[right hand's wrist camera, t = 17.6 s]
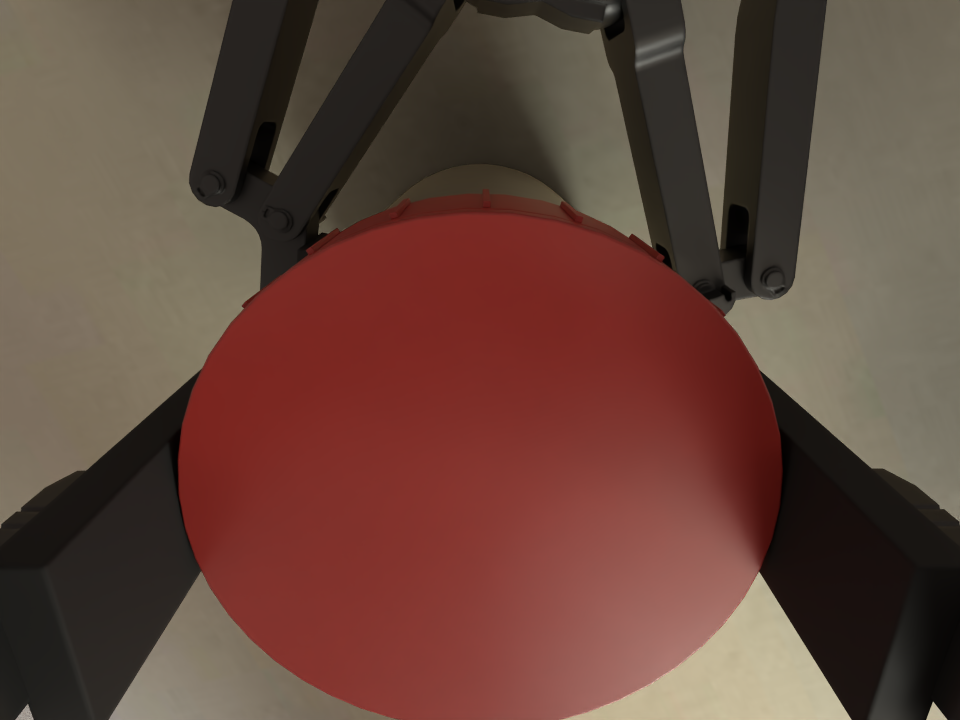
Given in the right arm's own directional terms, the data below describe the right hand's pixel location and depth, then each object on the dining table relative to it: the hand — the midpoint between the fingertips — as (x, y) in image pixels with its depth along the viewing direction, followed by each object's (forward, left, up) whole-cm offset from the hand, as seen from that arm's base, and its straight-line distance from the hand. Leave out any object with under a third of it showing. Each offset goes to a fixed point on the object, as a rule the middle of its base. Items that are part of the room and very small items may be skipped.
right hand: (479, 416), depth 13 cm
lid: (0, 0, +3) cm, 3 cm away
